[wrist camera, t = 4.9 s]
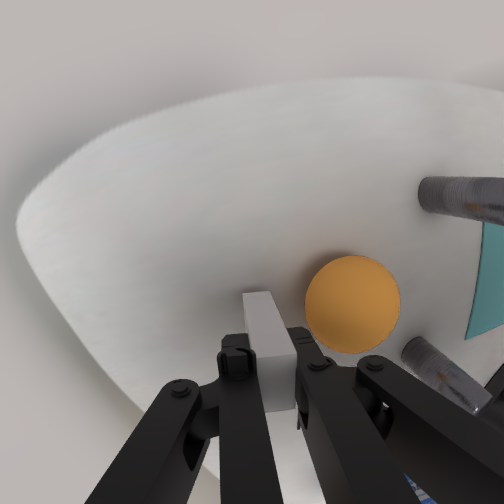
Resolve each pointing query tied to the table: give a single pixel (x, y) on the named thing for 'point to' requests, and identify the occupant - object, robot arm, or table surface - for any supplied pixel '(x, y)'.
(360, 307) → the ball
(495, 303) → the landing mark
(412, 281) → the table surface
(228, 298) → the table surface
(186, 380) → the robot arm
